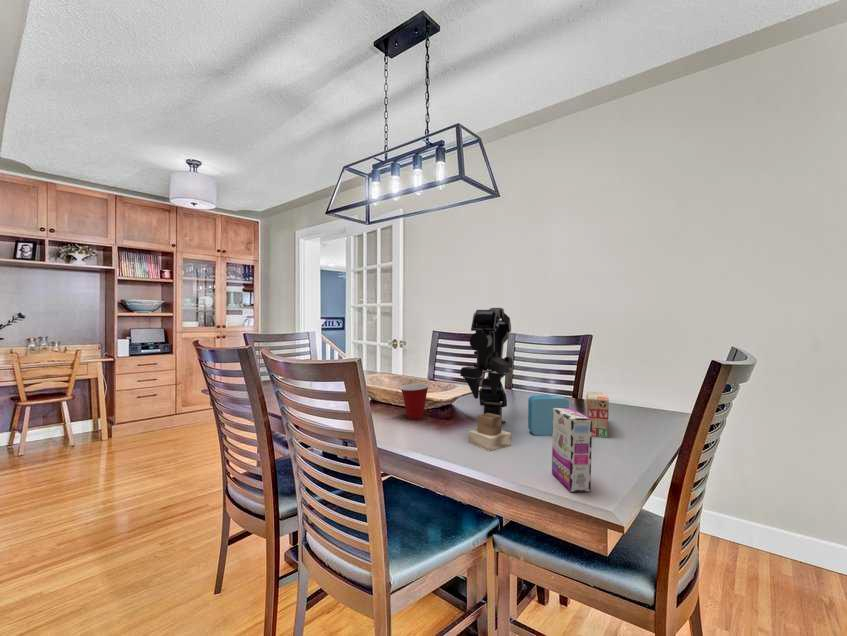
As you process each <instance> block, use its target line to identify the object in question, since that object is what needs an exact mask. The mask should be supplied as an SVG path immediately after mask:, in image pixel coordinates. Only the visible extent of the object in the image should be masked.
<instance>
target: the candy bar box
mask: <svg viewBox="0 0 847 636" xmlns="http://www.w3.org/2000/svg"><path fill="white" fill-rule="evenodd" d="M551 439H552V447H551V475H553V476H554V478H556V479H557V480H558V481H559V482H560V483H561V484H562V486H564V487H565V488H566V489H567V490H568V491H569V492H570V493H590V492H591V491H592V490H591V489H592V487H591V482H592V476H591V475H592V442H593V440H592V439H593V437H592V419H591V418H589V417H587V415H585V414H583V413H582V412H580V411H577V410H575V409H573V408H571V407H569V408H553V435H552V438H551Z"/></svg>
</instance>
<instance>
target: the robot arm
mask: <svg viewBox="0 0 847 636" xmlns="http://www.w3.org/2000/svg"><path fill="white" fill-rule="evenodd" d="M470 330H471V331H472V332H474V333H473V334H472V335H471V337H470V339H469V345H470V347H471V348H472V350H473V354H474V355H476V363H474V364H473V366H471V365H469V366H462V367H461V368H460V370H459V373H460V374H459V375H460V377H462V379H464V380H465V382H466V383H467V385H468V387H469V390H470V391H471V394H472V396H473V398H474V399H476V400H477V399H479V405H480V406H483V414H485V413H491V414H495V415H500V416H501V425H502V424H505V423H506V420H503V408H506V407H508V398H507V394H506V392H505V388H504V386H503V383H502V379H503V378H504V377H505V376H507V375H508V373H510V369H512V368H513V358H512V357H510V356H505V357H504V358H503V354H504V345H505V343H506V342H507V341H508V339H509V337H510V333H511V332H512V323H511V317H510V316H508V315H507V314H506V313H505V310H504V308H502V307H491V308H489V309H476V310H475V312H474V313H473V317H472V321H471V327H470ZM471 331H470V332H471ZM486 373H487V376H486V377H485V378H483V377H482V375H483V374H486ZM481 381H482V383H481V387H480V382H481Z"/></svg>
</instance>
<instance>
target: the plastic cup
mask: <svg viewBox="0 0 847 636" xmlns="http://www.w3.org/2000/svg"><path fill="white" fill-rule="evenodd" d="M429 386H430V385H429V384H427V383H410V384H405V385H401V386H400V387H399V388H400V390H401V394H402V398H403V403H404V408H405V412H406V418H407V419H409V420H421V419H422V418H423V417H424V414H425V413H424V412H425V407H426V401H427V394H428V389H429Z"/></svg>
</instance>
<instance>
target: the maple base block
mask: <svg viewBox="0 0 847 636" xmlns="http://www.w3.org/2000/svg"><path fill="white" fill-rule="evenodd" d="M467 434H468V435H467V436H468V437H467V440H468V441H467V442H468V444H470V445H472V444H473V445H472V446H475V447H477V446H478V448H480V447H481V448H480V449H482V448H484V449H483V450H485V449H486V450H485V451H488V450H489V451H488V452H491V451H490V450H492V451H495V450H494V449H496V450H498V449H497V448H500V449H503V448H506V447H505V446H507V447H510V446H509V445H511V446H512V432H509V431H506V430H504V429H503V430H502V429H501V433H498V434H496V435H493V436H489V435H486V434H482V433H478V428H477V429H476V428H475V429H471V430H467ZM502 447H503V448H502Z"/></svg>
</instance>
